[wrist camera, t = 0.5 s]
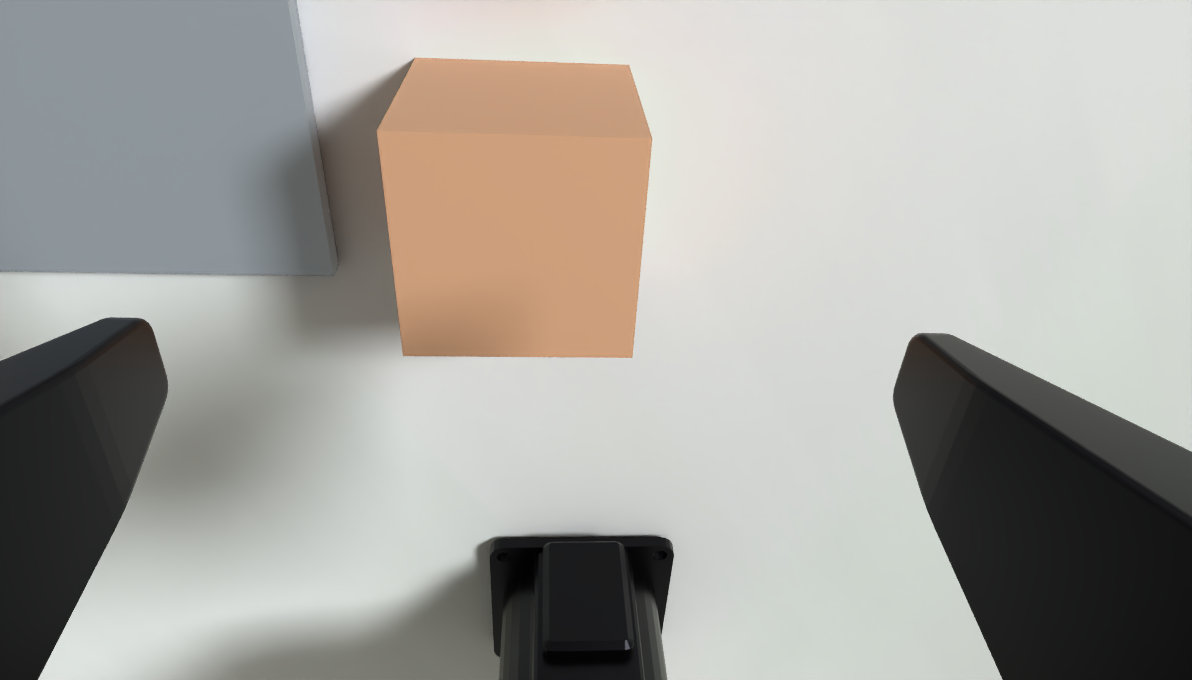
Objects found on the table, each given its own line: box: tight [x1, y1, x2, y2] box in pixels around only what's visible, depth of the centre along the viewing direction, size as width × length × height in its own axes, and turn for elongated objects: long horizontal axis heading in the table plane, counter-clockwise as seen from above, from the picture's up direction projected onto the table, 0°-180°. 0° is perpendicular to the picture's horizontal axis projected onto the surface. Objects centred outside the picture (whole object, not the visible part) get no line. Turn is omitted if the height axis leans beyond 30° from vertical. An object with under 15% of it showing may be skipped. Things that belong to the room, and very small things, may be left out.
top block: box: [377, 58, 652, 358], centre depth 18 cm, size 5×5×5 cm
